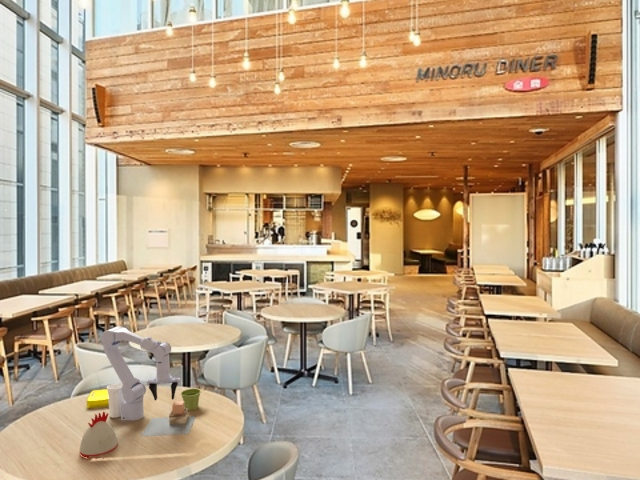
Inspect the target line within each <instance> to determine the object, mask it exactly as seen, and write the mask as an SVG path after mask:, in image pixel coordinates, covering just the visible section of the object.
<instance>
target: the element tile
mask: <svg viewBox="0 0 640 480" xmlns="http://www.w3.org/2000/svg"><path fill="white" fill-rule="evenodd" d="M106 407H109V401H108V391H107V388H105V389H94V390H92V391H90V393H89V395H88V396H87V399H86V408H87V409H98V408H106Z"/></svg>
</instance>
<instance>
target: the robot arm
mask: <svg viewBox="0 0 640 480" xmlns="http://www.w3.org/2000/svg"><path fill="white" fill-rule="evenodd" d="M100 341H101V342H102V343H101V344H102V346H103V351H104V353H105V355H106V357H107V359H108V361H109V363H110V365H111V366H112V369H114V372H115V374H116V375H117V377H118V379H119V380H120V383H122V384H123V386H122V389H121V391H122V393H123V398H124V401H123V402H122V404H121V416H120V421H137V420H141V419H142V418H144V415H145V414H144V411H145V410H144V395H145V394H146V391H147V387H146V386H148V389H149V390H150V392H151V394H152V396H153V400H154V401H157V400H158V385H164V384H165V385H166V384H171V385H170V391H171V400H174V399H175V393H176V390H177V387H178V385H179V384H180V383H181V377H171V371H170V370H171V369H170V368H171V367H170V365H171V364H170V353H171V352H172V346H171V345H170V343H168V341H163V342H162V341H160V340H156V339H153V337H152V336H146V337H142V336H140V335H138V334H136V333H134V332H132V331H130V330H128V329H127V328H126V327H123V326H120V325H117V326H115V327H112V328H110V329H108V330H104V331H103V332H102V334H101V337H100ZM122 341H127V342H130V343H132V344H135V345H139V347H140V349H141V350H144V351H146V352H148V353H150V354H151V353H152V354H153V356H154V357H155V362H156V363H155V365H156V367H155V368H156V378H151V379H147V380H146V385H145V384H144V383H142V382H141V380H140V379H138V378H137V377H134V374H133V373H132V371H131V369H130V368H129V366H128V364H127V363H126V360H125V359H124V357H123V356H122V353H121V351H120V350H119V346H120V343H121V342H122Z"/></svg>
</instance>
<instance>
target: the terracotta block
mask: <svg viewBox="0 0 640 480" xmlns="http://www.w3.org/2000/svg"><path fill="white" fill-rule="evenodd" d="M171 411H173V415H178V414H184V412H185V406H184V401H183V400H179V401H174V402H173V403H172V408H171Z"/></svg>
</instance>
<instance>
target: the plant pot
mask: <svg viewBox="0 0 640 480" xmlns="http://www.w3.org/2000/svg"><path fill="white" fill-rule="evenodd" d="M201 393H202V390H201V389H199V388H187V389H185V390H183V391H181V392H180V396H181V398H182V401H184V406H185V408H188V411H194V410H197V409H198V408H199V401H200V395H201Z"/></svg>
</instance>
